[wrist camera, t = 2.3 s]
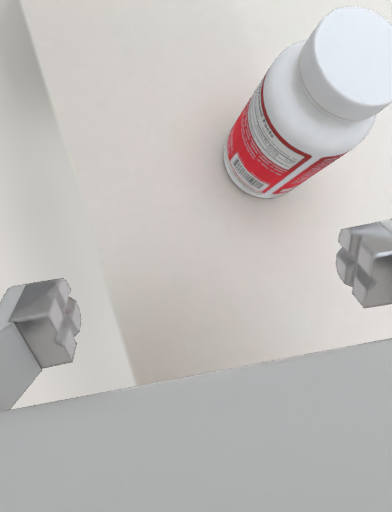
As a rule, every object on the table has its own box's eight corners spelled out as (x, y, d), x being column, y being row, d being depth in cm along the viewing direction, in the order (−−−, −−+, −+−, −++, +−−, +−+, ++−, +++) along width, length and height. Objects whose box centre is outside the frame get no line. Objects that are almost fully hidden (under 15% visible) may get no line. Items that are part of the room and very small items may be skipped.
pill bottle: (300, 129, 26) (425, 10, 15) (297, 206, 25) (427, 135, 14) (223, 113, 25) (301, -29, 14) (217, 193, 24) (294, 104, 13)
